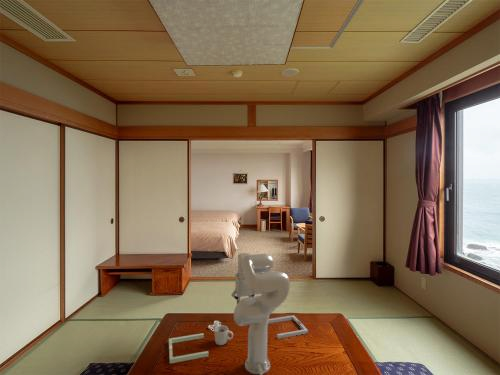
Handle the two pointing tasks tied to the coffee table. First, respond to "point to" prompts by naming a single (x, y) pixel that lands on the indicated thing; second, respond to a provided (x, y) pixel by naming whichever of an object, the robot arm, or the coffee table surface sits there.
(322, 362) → the coffee table surface
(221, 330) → the cup
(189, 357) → the mint green u-frame
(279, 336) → the grey u-frame
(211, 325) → the white curved piece
